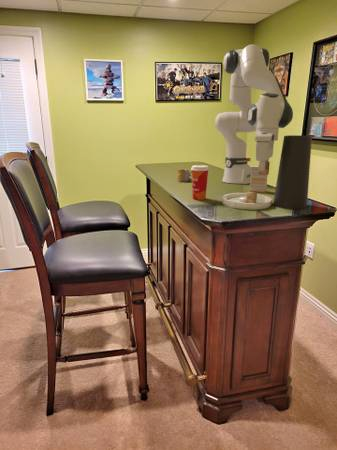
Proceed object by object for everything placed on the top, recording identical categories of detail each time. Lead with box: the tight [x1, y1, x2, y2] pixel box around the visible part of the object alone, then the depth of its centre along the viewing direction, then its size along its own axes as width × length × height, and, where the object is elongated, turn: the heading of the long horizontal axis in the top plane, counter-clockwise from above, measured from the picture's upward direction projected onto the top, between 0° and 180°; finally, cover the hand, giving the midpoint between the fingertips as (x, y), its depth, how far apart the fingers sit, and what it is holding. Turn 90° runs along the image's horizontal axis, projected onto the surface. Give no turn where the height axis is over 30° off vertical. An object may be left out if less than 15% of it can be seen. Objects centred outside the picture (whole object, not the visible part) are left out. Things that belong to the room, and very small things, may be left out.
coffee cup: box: [190, 164, 210, 201], centre depth 154 cm, size 8×8×15 cm
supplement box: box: [249, 165, 268, 194], centre depth 170 cm, size 8×5×13 cm, turn 71°
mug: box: [176, 169, 192, 183], centre depth 199 cm, size 12×7×7 cm, turn 95°
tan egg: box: [246, 191, 258, 203], centre depth 141 cm, size 4×4×5 cm
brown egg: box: [258, 161, 270, 176], centre depth 140 cm, size 4×4×5 cm
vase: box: [272, 134, 313, 210], centre depth 140 cm, size 14×14×29 cm
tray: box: [220, 192, 273, 211], centre depth 147 cm, size 21×21×2 cm
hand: (263, 169), depth 140 cm, fingers closed on brown egg, 4 cm apart
